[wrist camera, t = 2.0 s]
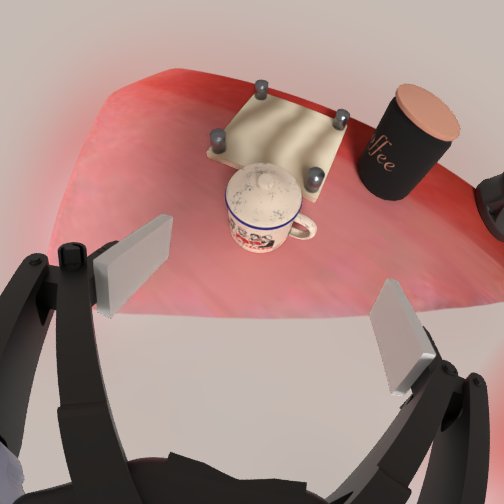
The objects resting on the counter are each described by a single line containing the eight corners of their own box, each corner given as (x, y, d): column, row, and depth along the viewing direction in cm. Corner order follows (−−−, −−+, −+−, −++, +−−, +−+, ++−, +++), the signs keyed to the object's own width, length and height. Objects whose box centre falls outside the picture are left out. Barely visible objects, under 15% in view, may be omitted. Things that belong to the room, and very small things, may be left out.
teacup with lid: (216, 237, 39) (207, 194, 28) (245, 189, 42) (248, 137, 31) (293, 275, 38) (314, 244, 27) (317, 222, 41) (342, 178, 30)
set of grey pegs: (345, 125, 47) (351, 112, 43) (316, 195, 41) (322, 182, 38) (257, 92, 49) (258, 78, 46) (209, 151, 43) (207, 136, 40)
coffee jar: (354, 148, 47) (390, 74, 30) (403, 163, 46) (448, 100, 30) (356, 195, 43) (405, 119, 26) (410, 210, 43) (469, 148, 26)
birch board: (345, 130, 48) (347, 125, 47) (315, 202, 42) (317, 197, 41) (256, 96, 50) (257, 90, 49) (207, 157, 44) (206, 151, 43)
